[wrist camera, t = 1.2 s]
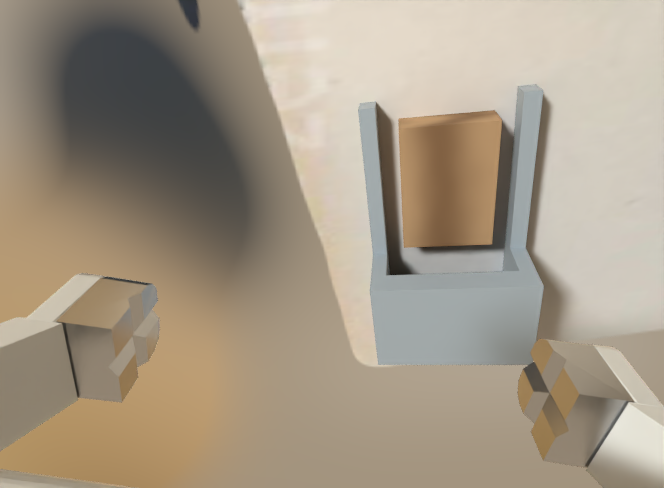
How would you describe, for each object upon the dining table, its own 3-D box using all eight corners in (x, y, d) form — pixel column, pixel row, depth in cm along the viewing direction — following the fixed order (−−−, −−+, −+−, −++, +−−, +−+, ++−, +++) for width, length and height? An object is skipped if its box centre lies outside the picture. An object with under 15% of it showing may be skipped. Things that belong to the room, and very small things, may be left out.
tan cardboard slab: (493, 108, 32) (501, 120, 29) (485, 225, 37) (491, 244, 34) (398, 117, 33) (398, 129, 30) (403, 229, 38) (403, 247, 36)
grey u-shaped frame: (536, 84, 30) (569, 110, 24) (512, 308, 41) (532, 365, 35) (360, 103, 32) (351, 131, 27) (380, 311, 43) (378, 364, 37)
